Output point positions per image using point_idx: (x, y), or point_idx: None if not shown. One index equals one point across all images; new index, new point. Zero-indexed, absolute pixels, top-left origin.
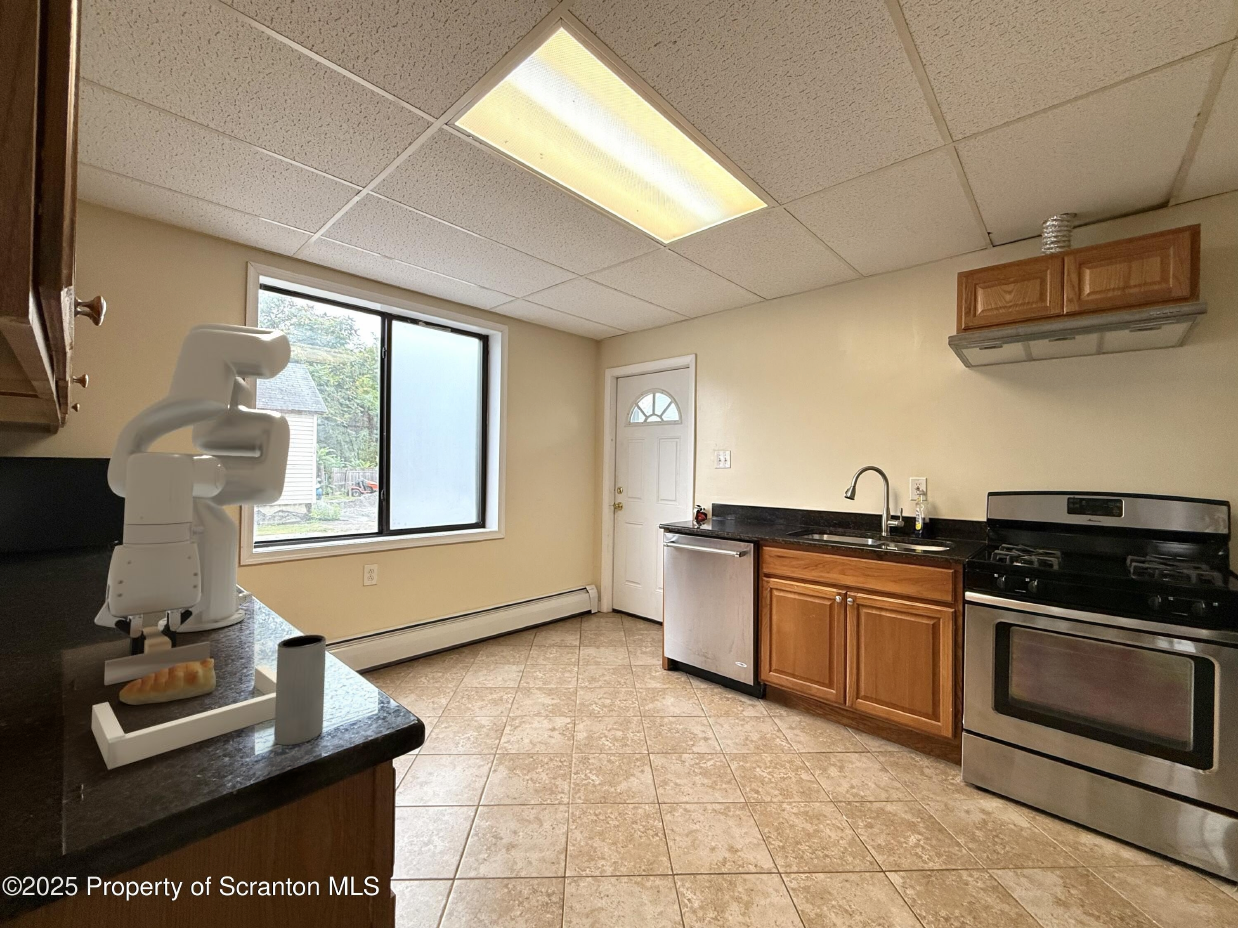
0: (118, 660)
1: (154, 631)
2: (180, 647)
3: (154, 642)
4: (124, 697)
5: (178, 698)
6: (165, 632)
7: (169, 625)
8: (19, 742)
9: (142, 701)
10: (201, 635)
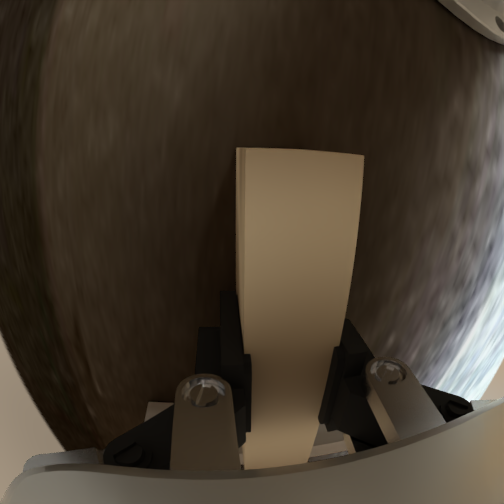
0: None
1: (317, 308)
2: (321, 450)
3: (265, 459)
4: None
5: None
6: (328, 413)
7: (348, 443)
8: None
9: None
10: (456, 61)
